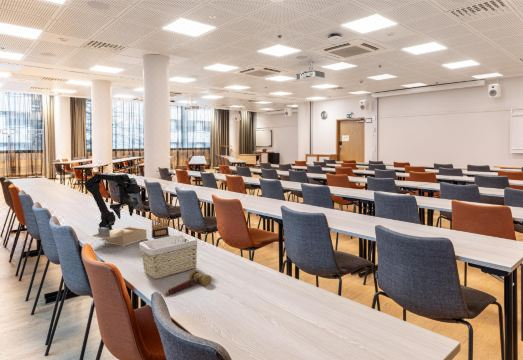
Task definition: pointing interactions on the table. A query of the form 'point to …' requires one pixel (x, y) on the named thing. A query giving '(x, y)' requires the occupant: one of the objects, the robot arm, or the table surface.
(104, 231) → the mailer lid
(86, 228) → the table surface
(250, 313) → the table surface
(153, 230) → the ammunition clip
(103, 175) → the robot arm
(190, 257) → the storage basket
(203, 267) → the table surface
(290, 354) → the table surface
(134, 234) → the mailer box
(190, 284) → the gavel
